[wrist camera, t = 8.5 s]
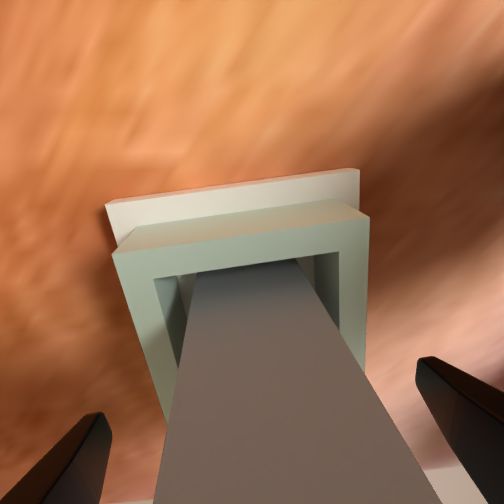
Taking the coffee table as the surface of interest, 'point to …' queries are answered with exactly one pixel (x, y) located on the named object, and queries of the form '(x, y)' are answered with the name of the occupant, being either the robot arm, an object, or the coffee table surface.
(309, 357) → the peg
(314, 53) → the coffee table surface
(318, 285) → the socket block
